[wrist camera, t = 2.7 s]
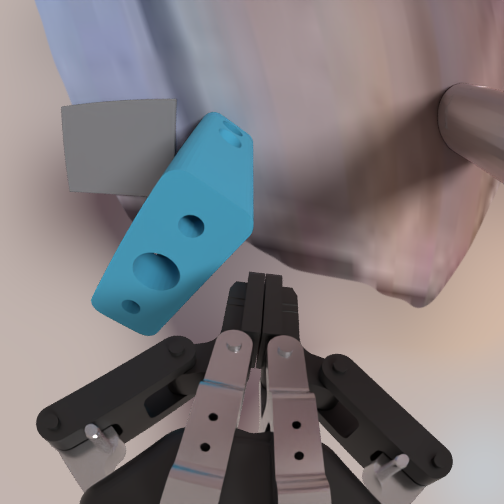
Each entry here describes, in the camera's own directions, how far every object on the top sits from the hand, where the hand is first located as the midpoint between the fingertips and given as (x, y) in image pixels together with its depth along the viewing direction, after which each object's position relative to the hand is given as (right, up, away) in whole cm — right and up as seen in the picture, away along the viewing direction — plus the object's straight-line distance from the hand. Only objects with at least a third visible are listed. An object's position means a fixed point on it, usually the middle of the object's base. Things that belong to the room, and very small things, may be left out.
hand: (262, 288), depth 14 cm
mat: (-17, +14, +19) cm, 29 cm away
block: (-6, +13, +18) cm, 23 cm away
